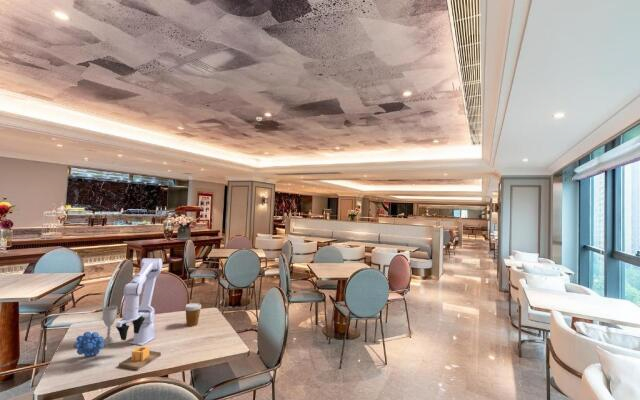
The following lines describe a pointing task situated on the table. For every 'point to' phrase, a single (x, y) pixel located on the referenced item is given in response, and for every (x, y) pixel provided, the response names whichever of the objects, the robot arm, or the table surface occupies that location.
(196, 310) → the disposable coffee cup
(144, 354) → the orange hollow frame block
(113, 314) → the chalice
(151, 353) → the keeper base
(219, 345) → the table surface
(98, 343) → the grapes
